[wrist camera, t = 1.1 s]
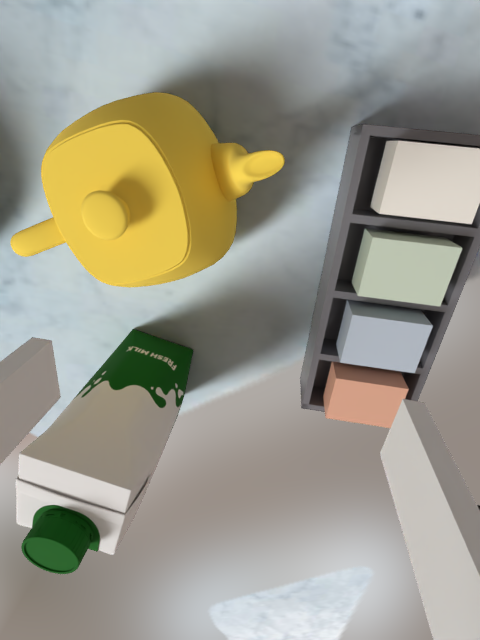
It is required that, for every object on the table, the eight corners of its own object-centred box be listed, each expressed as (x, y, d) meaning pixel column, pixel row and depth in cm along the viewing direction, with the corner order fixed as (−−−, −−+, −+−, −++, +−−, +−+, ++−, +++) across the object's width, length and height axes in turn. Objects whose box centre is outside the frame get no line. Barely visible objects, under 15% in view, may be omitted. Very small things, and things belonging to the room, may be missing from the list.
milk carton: (114, 381, 42) (-14, 554, 24) (126, 317, 38) (-18, 470, 20) (184, 405, 42) (108, 594, 25) (204, 344, 38) (129, 518, 20)
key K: (347, 299, 30) (352, 314, 27) (420, 309, 29) (433, 325, 27) (336, 344, 32) (340, 362, 29) (404, 354, 31) (414, 373, 29)
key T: (364, 228, 27) (372, 237, 25) (445, 237, 27) (462, 248, 24) (351, 281, 29) (357, 295, 26) (426, 291, 29) (440, 306, 26)
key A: (386, 141, 24) (398, 140, 22) (476, 149, 24) (499, 150, 21) (370, 206, 26) (379, 213, 24) (453, 216, 26) (471, 224, 23)
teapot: (305, 230, 32) (312, 276, 21) (112, 285, 36) (35, 346, 25) (263, 55, 26) (243, -8, 15) (45, 146, 31) (-89, 148, 20)
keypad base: (351, 127, 28) (363, 124, 23) (484, 140, 27) (523, 139, 22) (300, 377, 38) (301, 408, 34) (394, 391, 38) (407, 424, 33)
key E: (332, 359, 33) (336, 378, 30) (398, 368, 32) (408, 389, 30) (323, 396, 35) (325, 417, 32) (385, 406, 34) (393, 428, 32)
